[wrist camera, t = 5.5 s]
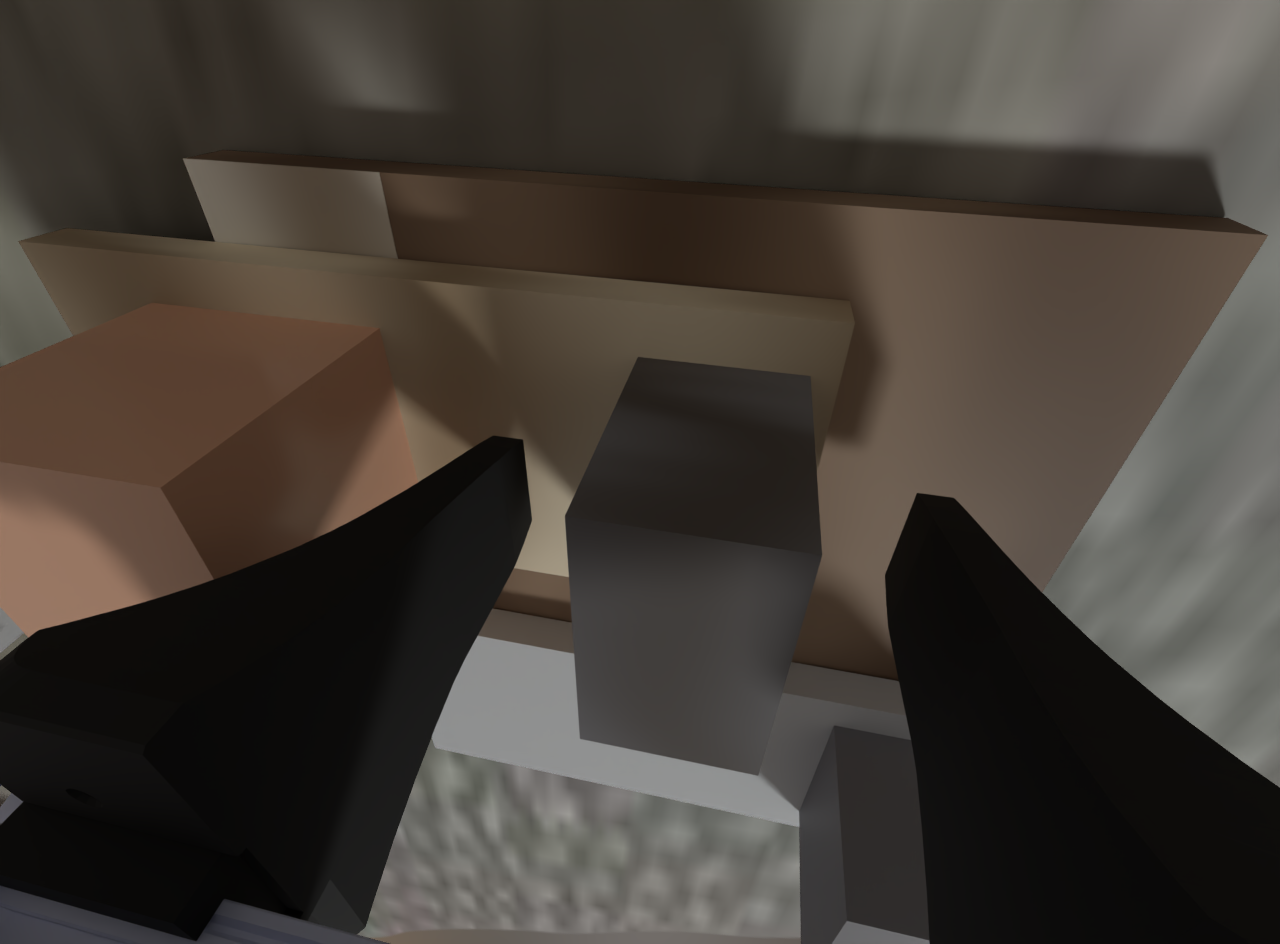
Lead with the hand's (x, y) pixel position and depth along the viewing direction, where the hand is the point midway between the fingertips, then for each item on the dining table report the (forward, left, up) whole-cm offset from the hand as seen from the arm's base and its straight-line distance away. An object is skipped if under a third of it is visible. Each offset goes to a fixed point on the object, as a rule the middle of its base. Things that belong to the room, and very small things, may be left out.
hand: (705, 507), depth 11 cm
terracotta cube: (-9, 0, -1) cm, 9 cm away
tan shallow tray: (-6, 0, -2) cm, 6 cm away
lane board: (-2, -5, -3) cm, 6 cm away
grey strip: (0, -10, -2) cm, 10 cm away
